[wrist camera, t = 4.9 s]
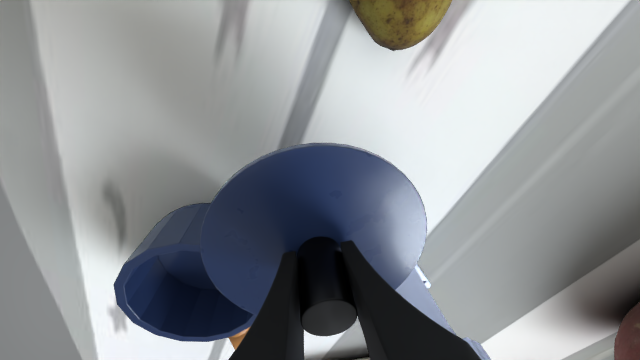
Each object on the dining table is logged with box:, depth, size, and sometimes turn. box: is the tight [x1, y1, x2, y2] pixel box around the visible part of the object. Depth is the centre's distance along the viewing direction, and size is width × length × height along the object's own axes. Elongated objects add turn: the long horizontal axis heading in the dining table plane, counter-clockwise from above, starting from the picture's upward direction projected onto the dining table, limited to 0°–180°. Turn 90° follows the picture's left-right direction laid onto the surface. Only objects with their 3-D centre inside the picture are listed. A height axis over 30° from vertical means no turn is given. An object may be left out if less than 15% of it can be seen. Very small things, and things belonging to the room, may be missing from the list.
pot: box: [114, 203, 257, 342], centre depth 22 cm, size 11×11×6 cm
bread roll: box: [228, 327, 250, 350], centre depth 28 cm, size 6×3×3 cm, turn 8°
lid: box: [200, 143, 427, 336], centre depth 12 cm, size 12×12×5 cm
